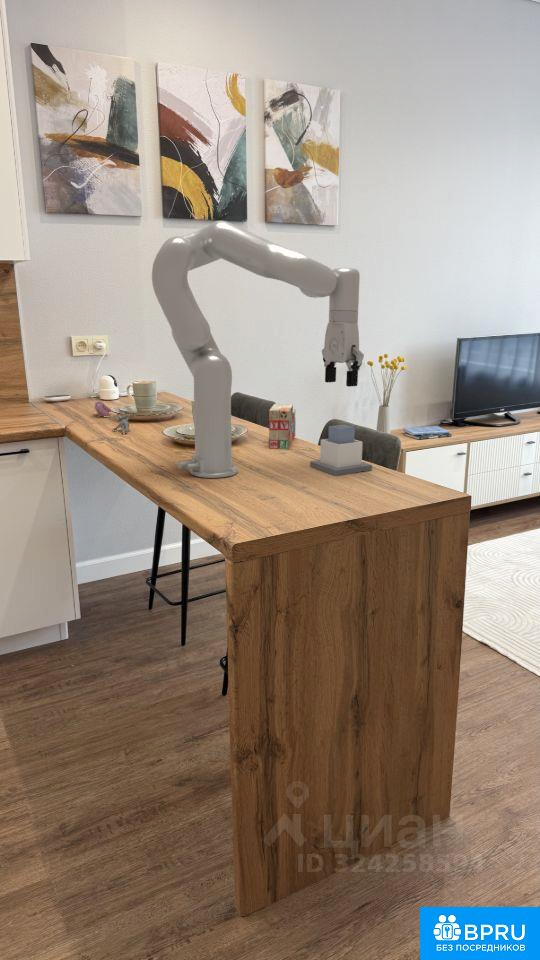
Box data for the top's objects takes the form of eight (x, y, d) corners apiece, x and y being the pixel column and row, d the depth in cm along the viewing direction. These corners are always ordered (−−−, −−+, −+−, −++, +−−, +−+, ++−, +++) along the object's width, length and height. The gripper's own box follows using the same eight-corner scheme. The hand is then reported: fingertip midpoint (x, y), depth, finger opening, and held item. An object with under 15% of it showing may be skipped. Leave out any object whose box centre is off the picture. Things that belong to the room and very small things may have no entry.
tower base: (335, 475, 182) (336, 447, 180) (309, 466, 192) (310, 439, 190) (371, 470, 188) (373, 442, 186) (345, 461, 198) (345, 434, 196)
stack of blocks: (277, 435, 235) (277, 399, 232) (295, 436, 234) (296, 399, 231) (268, 449, 214) (268, 409, 211) (289, 449, 214) (289, 409, 211)
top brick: (339, 447, 185) (339, 429, 184) (328, 444, 189) (328, 426, 188) (354, 445, 188) (354, 427, 186) (343, 442, 192) (343, 424, 190)
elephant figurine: (108, 436, 234) (106, 422, 241) (121, 446, 238) (118, 432, 245) (131, 417, 233) (127, 404, 240) (143, 428, 236) (139, 415, 243)
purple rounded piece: (102, 418, 276) (93, 402, 274) (113, 412, 276) (104, 397, 274) (100, 422, 267) (91, 406, 265) (111, 416, 267) (101, 400, 265)
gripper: (312, 317, 187) (311, 381, 191) (351, 319, 172) (348, 388, 176) (336, 316, 190) (333, 380, 194) (375, 319, 176) (372, 387, 180)
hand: (340, 384), depth 185 cm, fingers open, 9 cm apart
